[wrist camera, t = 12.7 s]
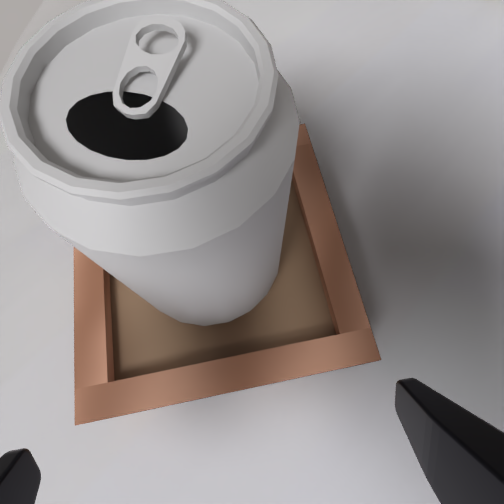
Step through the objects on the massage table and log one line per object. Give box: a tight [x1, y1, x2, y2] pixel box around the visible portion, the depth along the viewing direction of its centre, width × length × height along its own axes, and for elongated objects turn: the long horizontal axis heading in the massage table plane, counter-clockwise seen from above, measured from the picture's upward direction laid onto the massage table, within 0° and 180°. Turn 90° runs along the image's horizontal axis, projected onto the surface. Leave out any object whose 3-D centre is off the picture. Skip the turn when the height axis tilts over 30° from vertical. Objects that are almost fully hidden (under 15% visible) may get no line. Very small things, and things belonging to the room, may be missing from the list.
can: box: [0, 0, 300, 326], centre depth 13 cm, size 8×8×12 cm
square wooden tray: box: [74, 124, 381, 425], centre depth 19 cm, size 14×14×3 cm
